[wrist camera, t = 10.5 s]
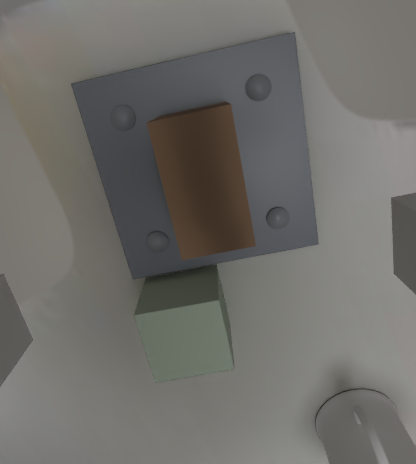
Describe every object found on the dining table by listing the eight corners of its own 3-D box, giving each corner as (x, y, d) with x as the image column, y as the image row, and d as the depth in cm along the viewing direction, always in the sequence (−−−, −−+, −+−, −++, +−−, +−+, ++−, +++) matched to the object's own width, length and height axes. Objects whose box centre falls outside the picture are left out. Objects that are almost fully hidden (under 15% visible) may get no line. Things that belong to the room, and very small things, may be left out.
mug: (303, 373, 37) (346, 495, 26) (390, 355, 36) (471, 473, 25) (321, 455, 41) (364, 591, 30) (398, 440, 40) (472, 575, 29)
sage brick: (163, 336, 36) (155, 382, 30) (146, 278, 33) (133, 315, 28) (230, 325, 35) (234, 369, 29) (216, 264, 33) (218, 300, 27)
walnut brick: (186, 228, 30) (181, 260, 25) (159, 116, 27) (146, 122, 21) (246, 217, 30) (255, 246, 24) (226, 101, 27) (231, 104, 21)
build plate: (135, 272, 33) (132, 281, 32) (76, 84, 27) (69, 83, 26) (314, 238, 32) (319, 245, 30) (291, 34, 26) (295, 31, 25)
